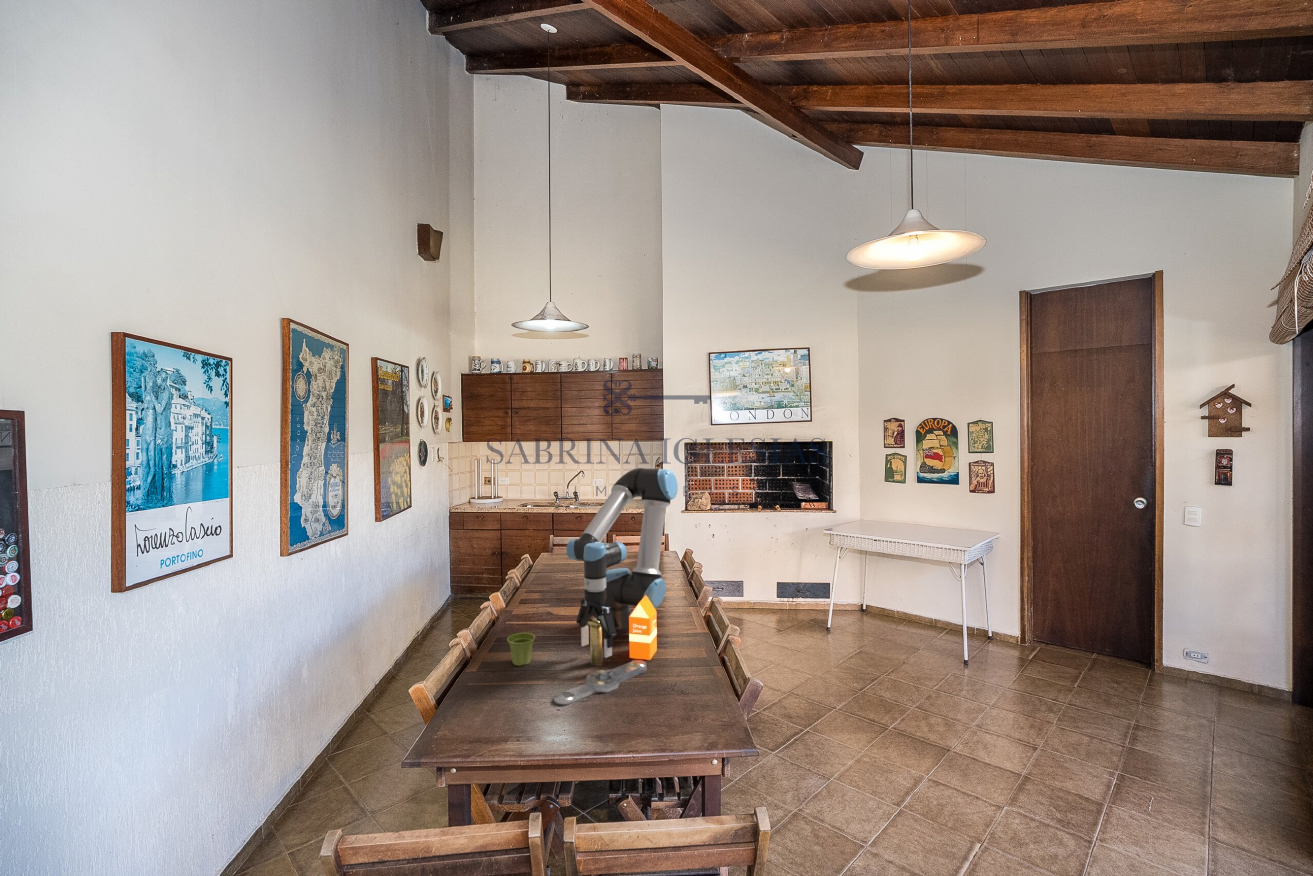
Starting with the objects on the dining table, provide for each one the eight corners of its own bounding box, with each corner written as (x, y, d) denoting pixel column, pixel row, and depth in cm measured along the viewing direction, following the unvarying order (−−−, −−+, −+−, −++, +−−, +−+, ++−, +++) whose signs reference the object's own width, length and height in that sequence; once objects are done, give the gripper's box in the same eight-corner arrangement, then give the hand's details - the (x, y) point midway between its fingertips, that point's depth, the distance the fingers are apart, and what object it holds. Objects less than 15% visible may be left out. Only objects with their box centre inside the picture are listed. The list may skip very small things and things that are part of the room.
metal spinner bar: (565, 710, 171) (565, 702, 171) (546, 698, 178) (546, 690, 178) (654, 672, 194) (654, 665, 194) (634, 663, 202) (634, 656, 202)
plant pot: (540, 658, 207) (540, 634, 206) (526, 669, 198) (525, 644, 197) (517, 655, 210) (517, 631, 209) (502, 666, 201) (501, 641, 201)
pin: (585, 663, 202) (585, 620, 202) (598, 659, 206) (597, 617, 205) (595, 668, 198) (594, 624, 198) (607, 663, 202) (606, 620, 201)
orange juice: (657, 650, 213) (656, 595, 212) (650, 660, 205) (649, 603, 204) (636, 648, 215) (635, 594, 214) (629, 657, 207) (628, 601, 206)
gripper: (565, 583, 207) (566, 643, 208) (609, 599, 189) (609, 665, 190) (583, 579, 212) (584, 637, 213) (626, 594, 194) (627, 658, 195)
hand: (596, 650), depth 202 cm, fingers open, 12 cm apart
